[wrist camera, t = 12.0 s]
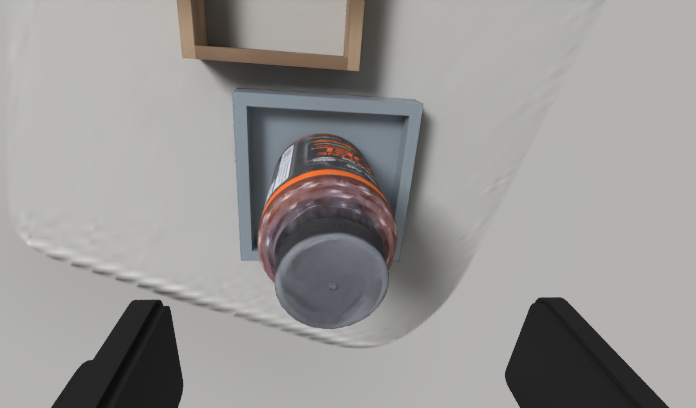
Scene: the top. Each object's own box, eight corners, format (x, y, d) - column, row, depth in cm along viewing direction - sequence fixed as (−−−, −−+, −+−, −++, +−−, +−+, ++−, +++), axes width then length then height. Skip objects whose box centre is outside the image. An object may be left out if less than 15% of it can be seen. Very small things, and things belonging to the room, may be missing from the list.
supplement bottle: (383, 150, 22) (450, 239, 12) (347, 230, 24) (378, 366, 14) (291, 115, 21) (277, 182, 10) (261, 203, 23) (224, 333, 12)
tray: (238, 88, 20) (232, 91, 19) (414, 99, 22) (423, 103, 20) (245, 246, 24) (240, 260, 23) (393, 247, 26) (398, 261, 24)
